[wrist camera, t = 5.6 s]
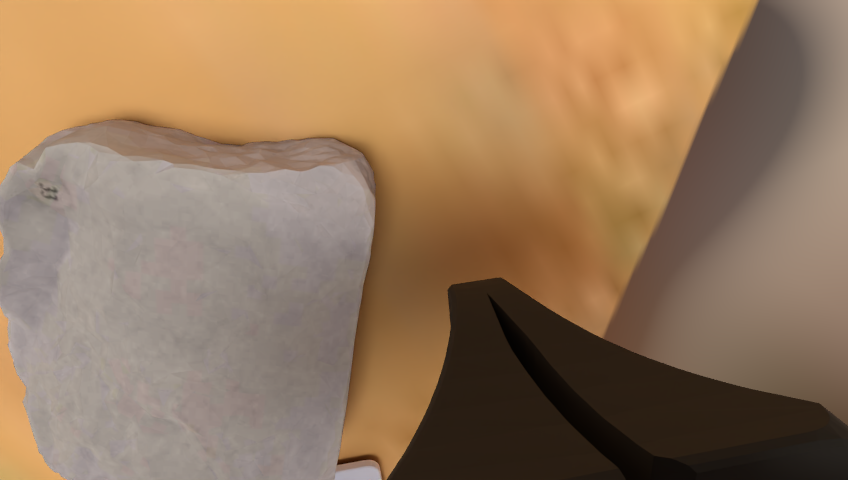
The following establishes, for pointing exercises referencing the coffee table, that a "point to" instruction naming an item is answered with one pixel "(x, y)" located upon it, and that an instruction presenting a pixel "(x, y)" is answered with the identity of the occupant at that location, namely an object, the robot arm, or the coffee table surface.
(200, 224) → the stone block
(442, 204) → the coffee table surface
